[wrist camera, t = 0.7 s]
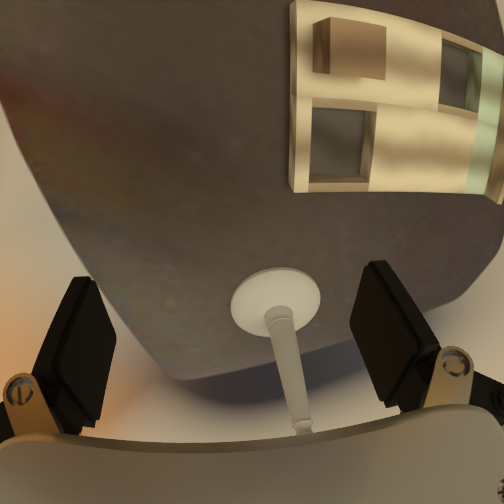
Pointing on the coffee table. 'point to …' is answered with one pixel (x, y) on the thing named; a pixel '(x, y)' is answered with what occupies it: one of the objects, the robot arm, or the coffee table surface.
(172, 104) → the coffee table surface
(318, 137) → the board
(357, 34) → the walnut block
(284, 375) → the candlestick
